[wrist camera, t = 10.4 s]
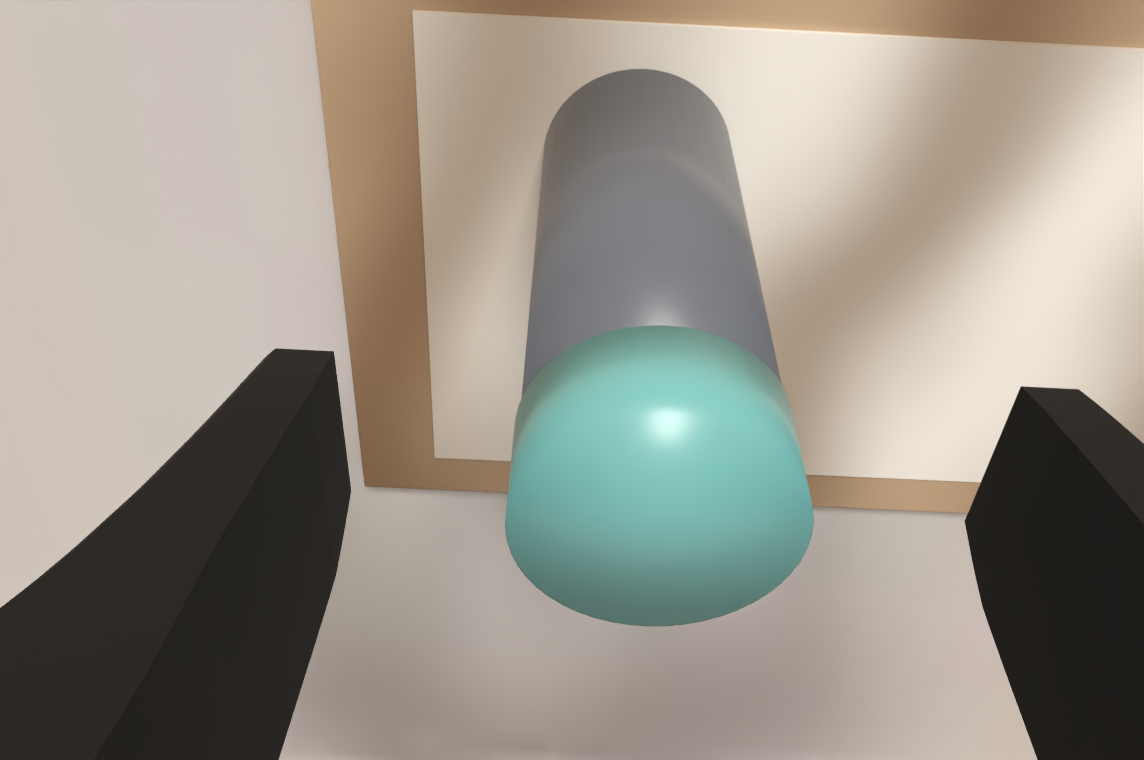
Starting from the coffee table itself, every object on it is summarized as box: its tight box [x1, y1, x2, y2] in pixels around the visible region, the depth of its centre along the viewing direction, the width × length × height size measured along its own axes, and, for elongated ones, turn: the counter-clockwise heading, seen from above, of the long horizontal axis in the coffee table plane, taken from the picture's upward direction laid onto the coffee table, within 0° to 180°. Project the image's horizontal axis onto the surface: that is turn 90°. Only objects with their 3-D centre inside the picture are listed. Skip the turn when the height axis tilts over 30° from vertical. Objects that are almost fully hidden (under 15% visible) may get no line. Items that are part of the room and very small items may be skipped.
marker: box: [505, 69, 814, 626], centre depth 14 cm, size 3×3×8 cm
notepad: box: [311, 0, 1144, 513], centre depth 18 cm, size 18×11×1 cm, turn 87°
